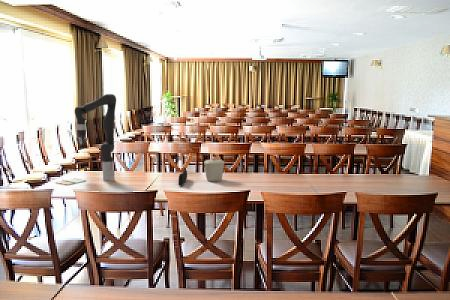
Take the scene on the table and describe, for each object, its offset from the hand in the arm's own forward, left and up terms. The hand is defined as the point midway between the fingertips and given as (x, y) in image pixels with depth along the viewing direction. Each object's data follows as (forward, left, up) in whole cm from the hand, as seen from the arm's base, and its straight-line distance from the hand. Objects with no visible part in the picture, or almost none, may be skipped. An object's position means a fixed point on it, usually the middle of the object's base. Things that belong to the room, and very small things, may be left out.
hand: (82, 148), depth 364 cm
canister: (-103, -58, -27) cm, 121 cm away
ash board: (-8, +24, -27) cm, 37 cm away
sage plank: (-8, +14, -27) cm, 32 cm away
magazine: (-86, -35, -27) cm, 97 cm away
